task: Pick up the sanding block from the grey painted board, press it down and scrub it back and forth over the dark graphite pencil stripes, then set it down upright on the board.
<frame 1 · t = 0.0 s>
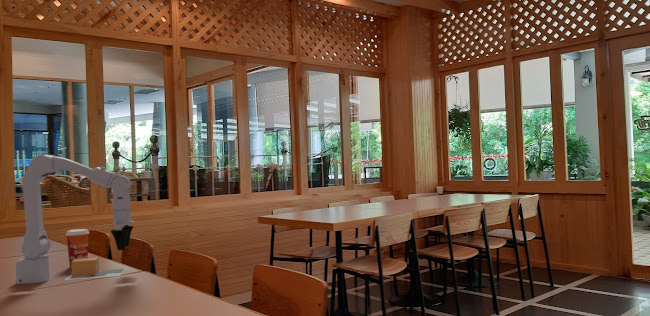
hand: (123, 248, 180), 10 cm above the table, fingers open, 7 cm apart
sanding block: (85, 273, 183), point 1 cm above the table, touching board
board: (95, 277, 181), on the table
coffee cup: (79, 269, 196), on the table
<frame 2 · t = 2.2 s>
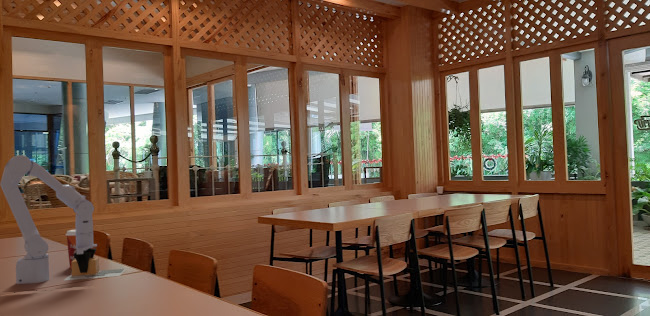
hand: (85, 270, 183), 2 cm above the table, fingers closed on sanding block, 5 cm apart
sanding block: (85, 273, 183), point 1 cm above the table, touching board, gripper
everything else where it was.
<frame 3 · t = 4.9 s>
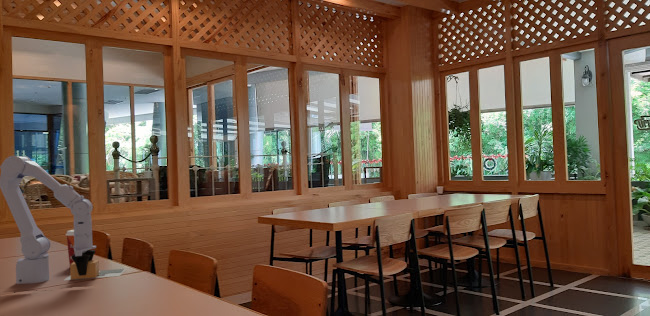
hand: (84, 273, 177), 2 cm above the table, fingers closed on sanding block, 5 cm apart
sanding block: (85, 276, 177), point 1 cm above the table, touching board, gripper
everything else where it was.
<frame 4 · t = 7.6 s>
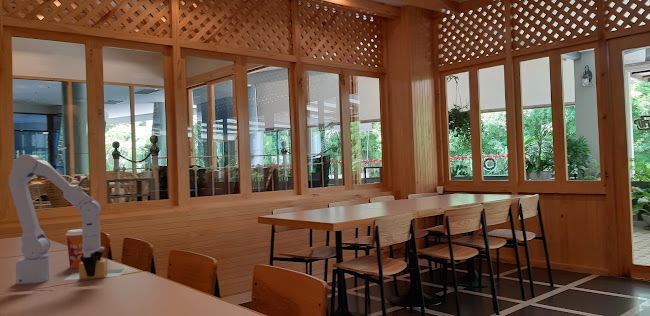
hand: (92, 274, 178), 2 cm above the table, fingers closed on sanding block, 5 cm apart
sanding block: (93, 275, 178), point 1 cm above the table, touching gripper
everything else where it was.
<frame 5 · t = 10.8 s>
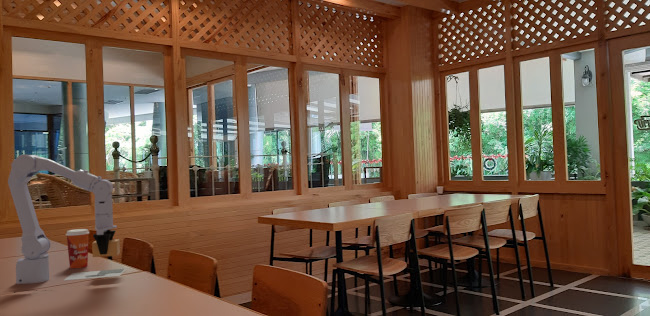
hand: (105, 252, 179), 9 cm above the table, fingers closed on sanding block, 5 cm apart
sanding block: (106, 255, 179), point 8 cm above the table, touching gripper
everything else where it was.
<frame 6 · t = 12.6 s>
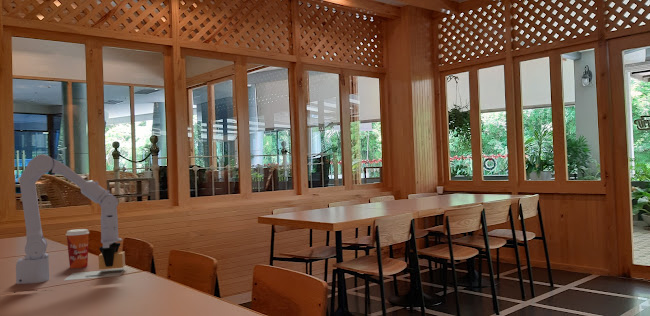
hand: (110, 264, 185), 3 cm above the table, fingers closed on sanding block, 5 cm apart
sanding block: (112, 267, 185), point 3 cm above the table, touching gripper
everything else where it was.
when the fingers open (3 cm above the table, at t = 13.1 s): sanding block stays where it is, resting on board.
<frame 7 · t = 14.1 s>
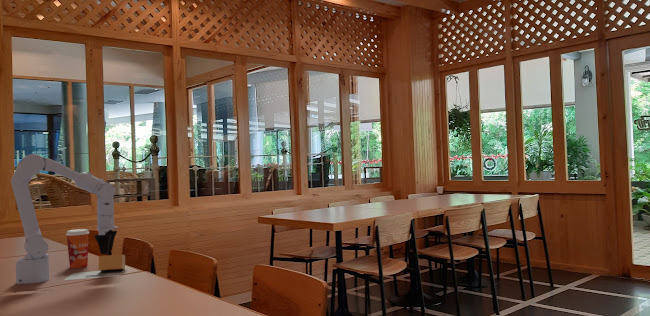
hand: (106, 252, 187), 8 cm above the table, fingers open, 7 cm apart
sanding block: (111, 269, 185), point 2 cm above the table, tilted 14°, touching board
everything else where it was.
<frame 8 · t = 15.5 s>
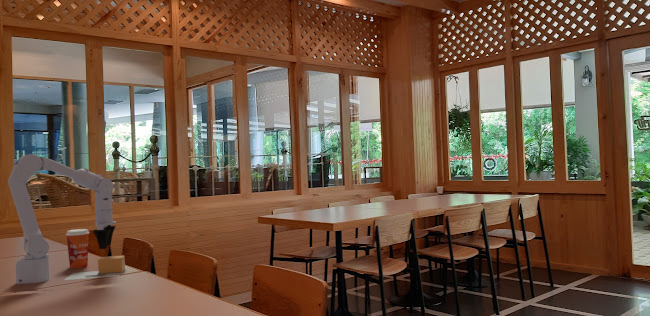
hand: (105, 247, 188), 9 cm above the table, fingers open, 7 cm apart
sanding block: (111, 271, 185), point 1 cm above the table, touching board
everything else where it was.
at the end: sanding block 0.4 cm from the target spot on the board, point 1.1 cm above the board's base; sanding block tilted 0°; the gripper is holding nothing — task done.
